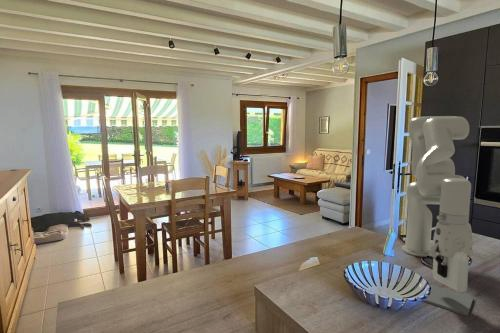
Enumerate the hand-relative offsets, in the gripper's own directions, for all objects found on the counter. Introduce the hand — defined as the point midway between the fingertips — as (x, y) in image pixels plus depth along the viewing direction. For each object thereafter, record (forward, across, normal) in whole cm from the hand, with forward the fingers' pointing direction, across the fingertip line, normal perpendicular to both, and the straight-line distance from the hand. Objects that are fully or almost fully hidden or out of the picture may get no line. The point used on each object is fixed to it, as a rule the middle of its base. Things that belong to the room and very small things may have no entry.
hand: (449, 274), depth 94 cm
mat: (+9, 0, 0) cm, 9 cm away
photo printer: (+3, 0, 0) cm, 3 cm away
